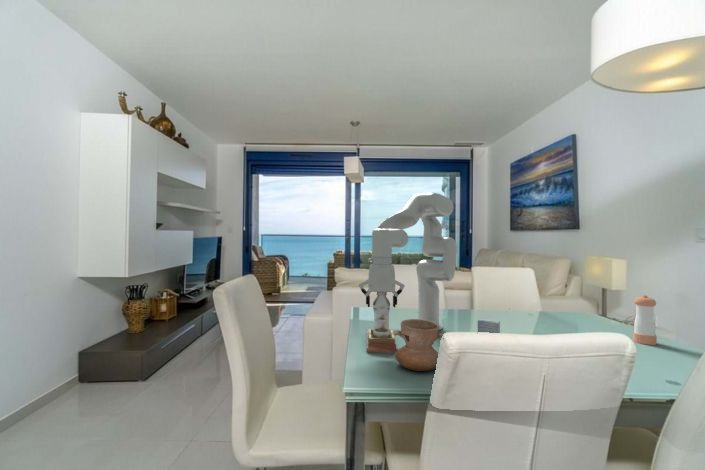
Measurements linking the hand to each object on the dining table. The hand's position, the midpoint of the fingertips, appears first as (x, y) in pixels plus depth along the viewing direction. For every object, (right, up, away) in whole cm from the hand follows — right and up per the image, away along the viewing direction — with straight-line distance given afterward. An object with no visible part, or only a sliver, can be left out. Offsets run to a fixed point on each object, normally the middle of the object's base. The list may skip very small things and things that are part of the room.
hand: (381, 306), depth 129 cm
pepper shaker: (+108, -17, +10) cm, 110 cm away
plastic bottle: (0, -14, 0) cm, 14 cm away
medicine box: (+44, -16, +9) cm, 48 cm away
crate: (0, -15, 0) cm, 15 cm away
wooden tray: (0, -16, +4) cm, 16 cm away
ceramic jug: (+11, -16, -18) cm, 27 cm away
